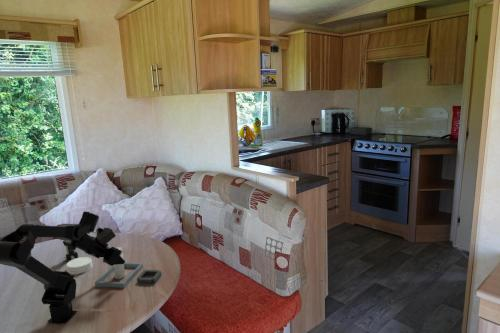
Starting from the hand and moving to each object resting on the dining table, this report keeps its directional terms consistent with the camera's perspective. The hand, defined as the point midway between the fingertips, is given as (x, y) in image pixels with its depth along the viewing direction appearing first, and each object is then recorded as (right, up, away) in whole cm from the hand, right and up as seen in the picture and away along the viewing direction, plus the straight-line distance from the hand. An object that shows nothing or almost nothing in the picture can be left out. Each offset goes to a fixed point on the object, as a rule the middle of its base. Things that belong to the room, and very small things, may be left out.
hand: (117, 259), depth 139 cm
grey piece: (+13, -8, -1) cm, 15 cm away
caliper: (-14, -4, +27) cm, 31 cm away
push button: (-29, -5, +20) cm, 36 cm away
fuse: (0, -7, +2) cm, 8 cm away
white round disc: (-21, -7, +11) cm, 24 cm away
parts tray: (0, -8, +2) cm, 8 cm away
